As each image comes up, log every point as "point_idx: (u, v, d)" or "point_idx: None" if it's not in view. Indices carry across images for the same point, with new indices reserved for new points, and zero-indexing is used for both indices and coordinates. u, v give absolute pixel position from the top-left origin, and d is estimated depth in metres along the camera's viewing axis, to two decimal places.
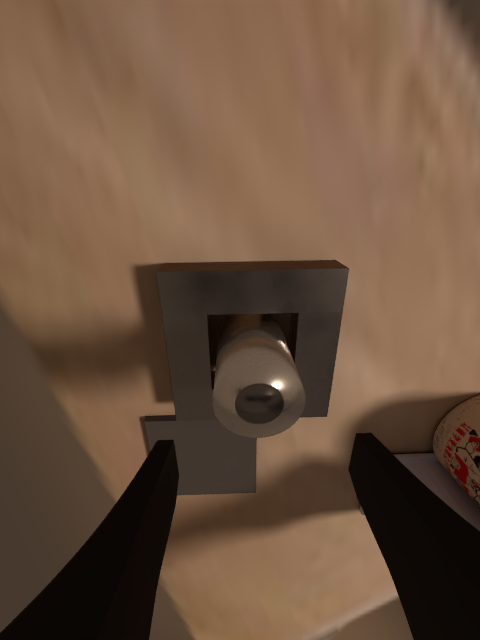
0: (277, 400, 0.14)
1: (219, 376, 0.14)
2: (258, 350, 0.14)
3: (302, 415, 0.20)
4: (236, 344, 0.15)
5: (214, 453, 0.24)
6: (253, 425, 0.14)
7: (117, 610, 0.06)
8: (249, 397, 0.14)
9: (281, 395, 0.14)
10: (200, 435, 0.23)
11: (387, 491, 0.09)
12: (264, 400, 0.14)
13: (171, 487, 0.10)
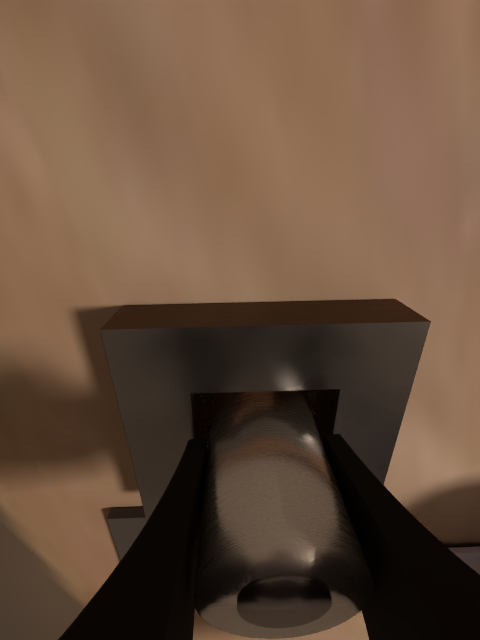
0: (319, 597, 0.07)
1: (206, 546, 0.07)
2: (280, 491, 0.07)
3: None
4: (239, 463, 0.09)
5: None
6: None
7: (175, 607, 0.06)
8: (265, 597, 0.07)
9: (328, 593, 0.07)
10: None
11: (348, 492, 0.09)
12: (294, 599, 0.07)
13: None
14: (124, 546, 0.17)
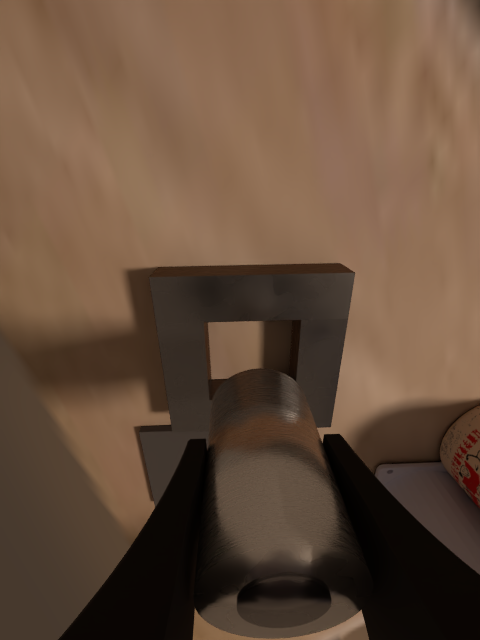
0: (319, 597, 0.07)
1: (207, 546, 0.07)
2: (281, 491, 0.07)
3: None
4: (239, 463, 0.09)
5: None
6: None
7: (175, 607, 0.06)
8: (265, 596, 0.07)
9: (328, 593, 0.07)
10: None
11: (348, 492, 0.09)
12: (294, 599, 0.07)
13: None
14: (150, 457, 0.22)
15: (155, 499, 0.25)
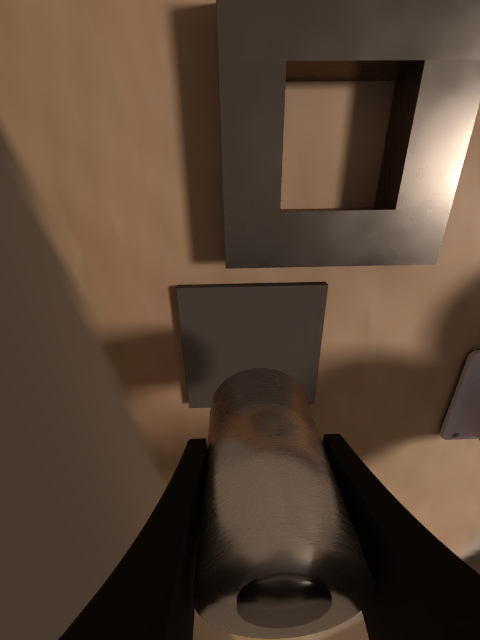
0: (319, 597, 0.07)
1: (207, 544, 0.07)
2: (283, 490, 0.07)
3: (402, 261, 0.15)
4: (240, 462, 0.08)
5: (266, 341, 0.18)
6: None
7: (175, 607, 0.06)
8: (266, 597, 0.07)
9: (328, 593, 0.07)
10: (250, 312, 0.17)
11: (348, 492, 0.09)
12: (294, 599, 0.07)
13: None
14: (188, 328, 0.18)
15: (190, 395, 0.20)
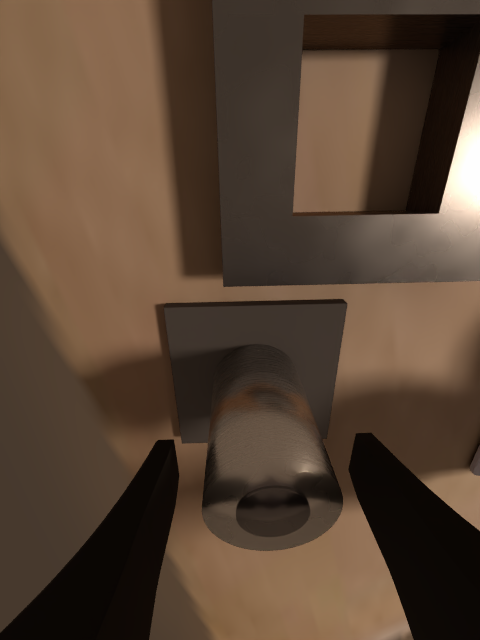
0: (300, 508, 0.09)
1: (213, 468, 0.09)
2: (272, 427, 0.09)
3: (442, 277, 0.12)
4: (239, 411, 0.10)
5: None
6: (262, 537, 0.10)
7: (117, 610, 0.06)
8: (258, 505, 0.09)
9: (307, 503, 0.09)
10: (253, 335, 0.14)
11: (387, 491, 0.09)
12: (281, 509, 0.09)
13: (171, 487, 0.10)
14: (179, 354, 0.15)
15: (182, 429, 0.17)
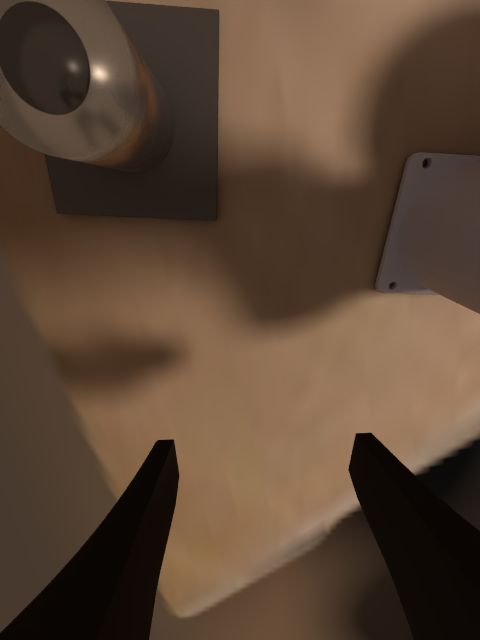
0: (75, 55, 0.08)
1: None
2: None
3: None
4: None
5: None
6: (45, 121, 0.08)
7: (117, 610, 0.06)
8: (20, 35, 0.08)
9: (79, 39, 0.08)
10: None
11: (387, 491, 0.09)
12: (49, 48, 0.08)
13: (171, 487, 0.10)
14: None
15: (55, 192, 0.15)
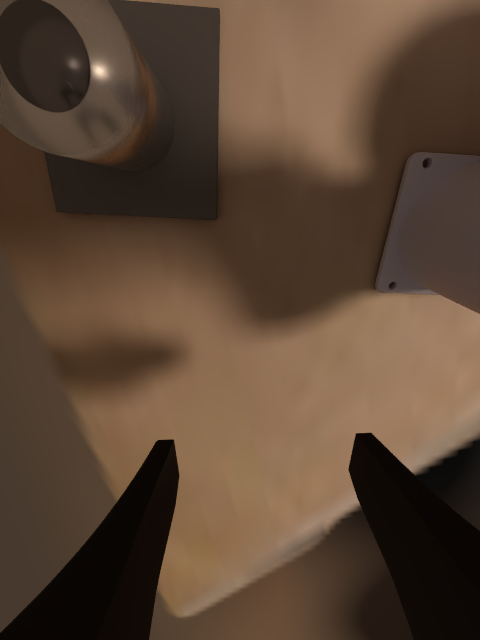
0: (75, 52, 0.08)
1: None
2: None
3: None
4: None
5: None
6: (45, 119, 0.08)
7: (117, 610, 0.06)
8: (20, 32, 0.07)
9: (79, 36, 0.08)
10: None
11: (387, 491, 0.09)
12: (49, 45, 0.08)
13: (171, 487, 0.10)
14: None
15: (55, 190, 0.15)
